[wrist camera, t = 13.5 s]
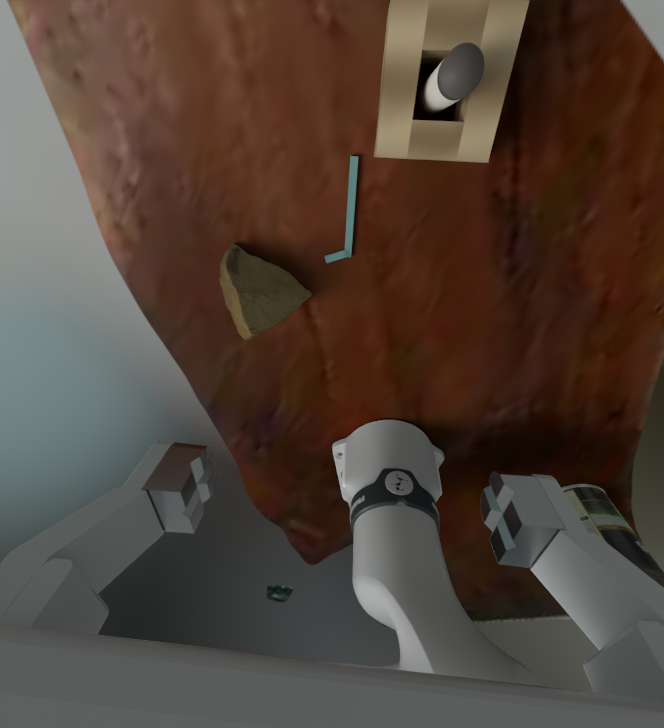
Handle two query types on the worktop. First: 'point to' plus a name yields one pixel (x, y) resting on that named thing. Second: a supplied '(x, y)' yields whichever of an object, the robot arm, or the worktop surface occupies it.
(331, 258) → the hex key
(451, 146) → the wooden block with hole
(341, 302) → the worktop surface
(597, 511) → the coffee can
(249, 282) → the rock
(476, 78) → the long grey cylinder
